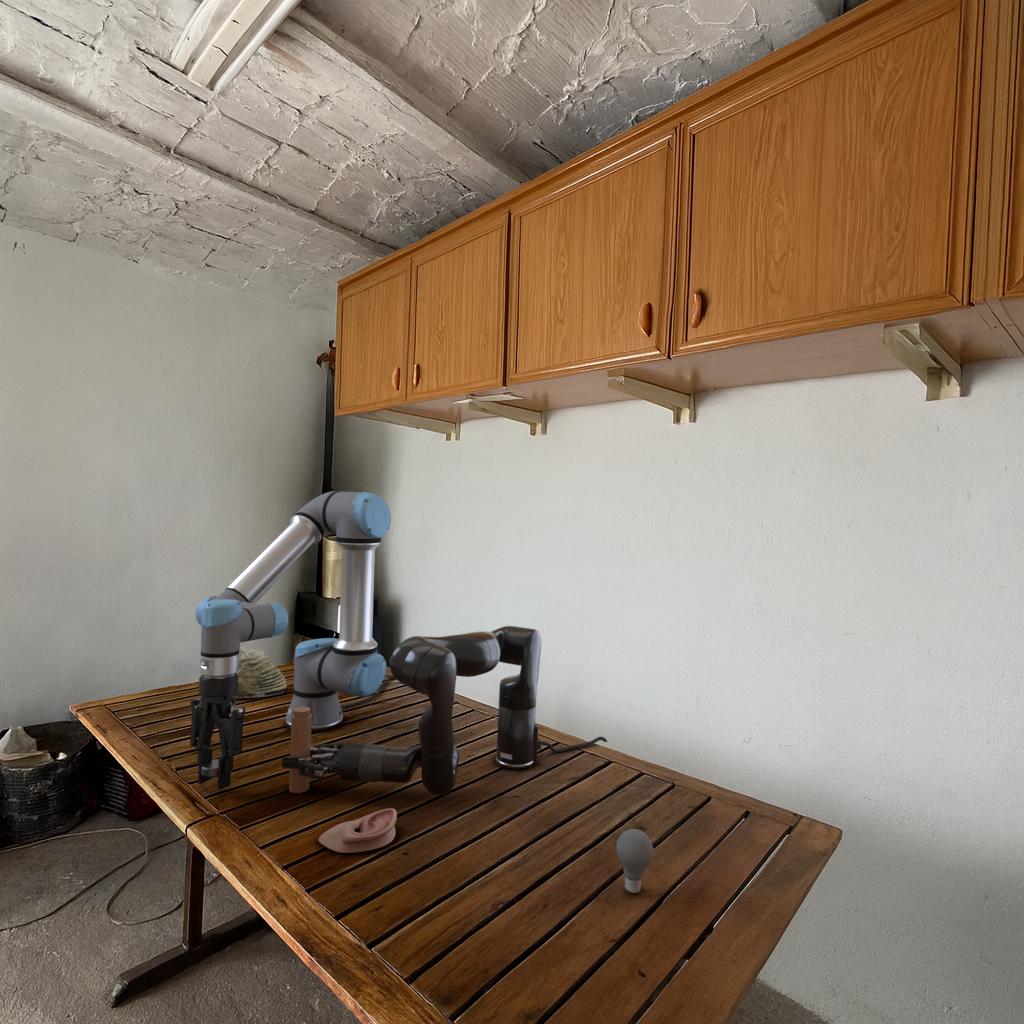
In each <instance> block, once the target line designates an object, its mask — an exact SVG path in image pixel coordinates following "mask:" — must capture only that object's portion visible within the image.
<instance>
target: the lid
mask: <svg viewBox="0 0 1024 1024" xmlns="http://www.w3.org/2000/svg"><path fill="white" fill-rule="evenodd" d="M218 761H219V758H215V759H212V760H209V761H206V762H204V763H203V764H202V770H201V774H202V775H203V776H207V777H211V778H212V777H218Z"/></svg>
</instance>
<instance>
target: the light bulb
mask: <svg viewBox="0 0 1024 1024" xmlns="http://www.w3.org/2000/svg"><path fill="white" fill-rule="evenodd" d="M615 849H616V854H617V857H618V859H619V861H620V863H621V865H622V867H623V873H624V874H623V875H624V876H625V878H624V888H625V890H627V891H628V892H630V893H634V894H635V893H639V892H640V891H641V889H642V887H641V886H642V879H643V877H644V875H645V871H646V868H647V867H648V866H649V864H650V863H651V861H652V859H653V855H654V847H653V843H652V841H651V838H649V836H648V835H647V834H646V833H645V832H643V831H642V830H641V829H636V828H629V829H627V830H625V831H623V832H622V833H621V834H620V835H619V837H618V839H617V841H616V847H615Z"/></svg>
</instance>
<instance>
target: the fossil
mask: <svg viewBox="0 0 1024 1024" xmlns="http://www.w3.org/2000/svg"><path fill="white" fill-rule="evenodd" d="M237 675H238V690H237V692H236V693H235V695H234V699H250V698H264V697H271V696H275V695H281V694H284V693H285V691H286V689H287V687H288V686H287V680H286V678H285V676H284V674H283V673H282V672H281V669H279V668H278V667H277V665H276V663H275V662H274V660H273V659H272V658H271V657H270V656H269V655H268V654H267V653H266V652H265V650H264V649H263V648H260V647H258V648H251V647H247V646H246V647H245V646H240V653H239V671H238V672H237Z"/></svg>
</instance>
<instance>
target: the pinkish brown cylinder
mask: <svg viewBox="0 0 1024 1024" xmlns="http://www.w3.org/2000/svg"><path fill="white" fill-rule="evenodd" d="M311 730H312V714H311V708H309V707H297V708H294V710H293V715H292V717H291V729H290V747H289V757H300V758H307V757H311V747H312V732H311ZM309 763H311V762H309ZM307 772H308V771H307ZM310 782H311V778H310V777H306V776H302V775H299V769H290V768H289V773H288V791H289V792H290V793H292V794H300V793H304V792H307V791H308V790H309V789H310Z"/></svg>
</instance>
